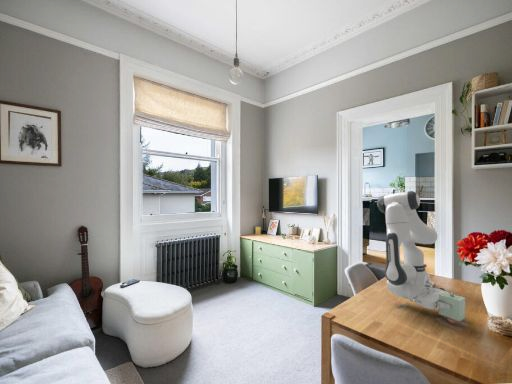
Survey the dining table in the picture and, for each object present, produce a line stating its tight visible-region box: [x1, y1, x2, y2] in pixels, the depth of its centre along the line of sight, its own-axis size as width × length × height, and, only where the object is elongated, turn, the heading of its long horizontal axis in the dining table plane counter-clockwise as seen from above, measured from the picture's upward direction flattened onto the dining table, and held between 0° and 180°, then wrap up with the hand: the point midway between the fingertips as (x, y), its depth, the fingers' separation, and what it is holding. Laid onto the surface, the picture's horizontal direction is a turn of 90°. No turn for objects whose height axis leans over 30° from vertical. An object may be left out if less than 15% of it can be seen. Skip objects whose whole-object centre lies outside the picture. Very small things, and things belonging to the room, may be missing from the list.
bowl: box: [448, 317, 456, 324], centre depth 115 cm, size 3×3×2 cm
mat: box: [396, 302, 410, 309], centre depth 129 cm, size 11×10×1 cm
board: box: [434, 315, 471, 332], centre depth 115 cm, size 12×10×1 cm
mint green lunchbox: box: [438, 291, 466, 321], centre depth 115 cm, size 6×8×10 cm
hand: (454, 305), depth 114 cm, fingers closed on mint green lunchbox, 6 cm apart
